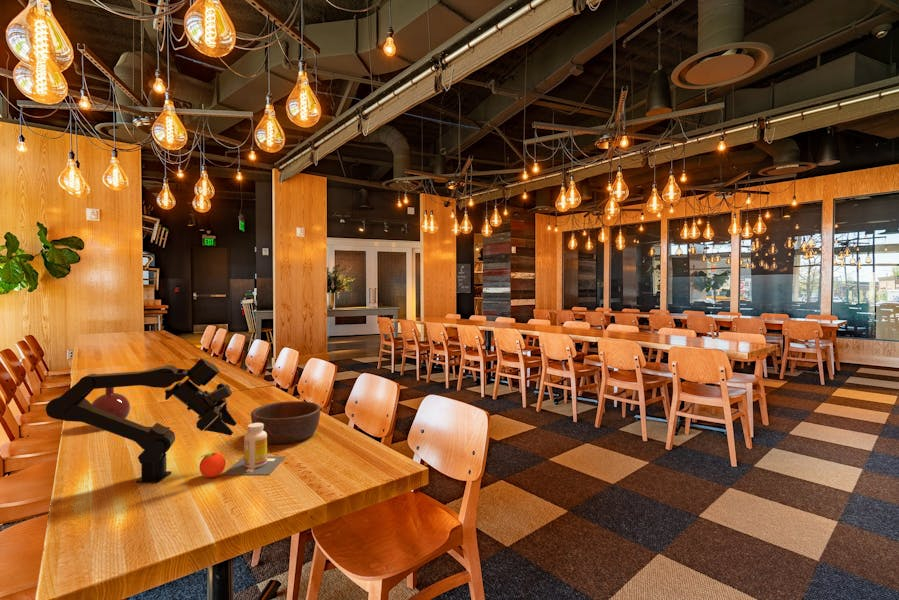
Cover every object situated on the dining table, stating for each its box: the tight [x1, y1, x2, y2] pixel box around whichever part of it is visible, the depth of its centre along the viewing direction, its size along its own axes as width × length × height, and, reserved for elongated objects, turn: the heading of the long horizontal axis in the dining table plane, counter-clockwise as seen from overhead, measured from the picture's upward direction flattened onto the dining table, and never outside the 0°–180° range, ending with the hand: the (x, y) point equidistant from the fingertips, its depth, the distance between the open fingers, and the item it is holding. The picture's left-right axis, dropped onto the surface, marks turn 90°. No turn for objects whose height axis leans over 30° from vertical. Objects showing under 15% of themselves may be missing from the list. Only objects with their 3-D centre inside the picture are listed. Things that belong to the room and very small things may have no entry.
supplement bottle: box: [243, 422, 268, 468], centre depth 136 cm, size 7×7×13 cm
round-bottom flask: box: [91, 387, 131, 419], centre depth 173 cm, size 13×13×20 cm
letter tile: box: [222, 455, 287, 476], centre depth 137 cm, size 14×14×1 cm
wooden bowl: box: [250, 400, 322, 445], centre depth 164 cm, size 25×25×10 cm
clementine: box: [198, 452, 226, 478], centre depth 128 cm, size 8×7×7 cm
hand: (233, 429), depth 134 cm, fingers open, 9 cm apart
